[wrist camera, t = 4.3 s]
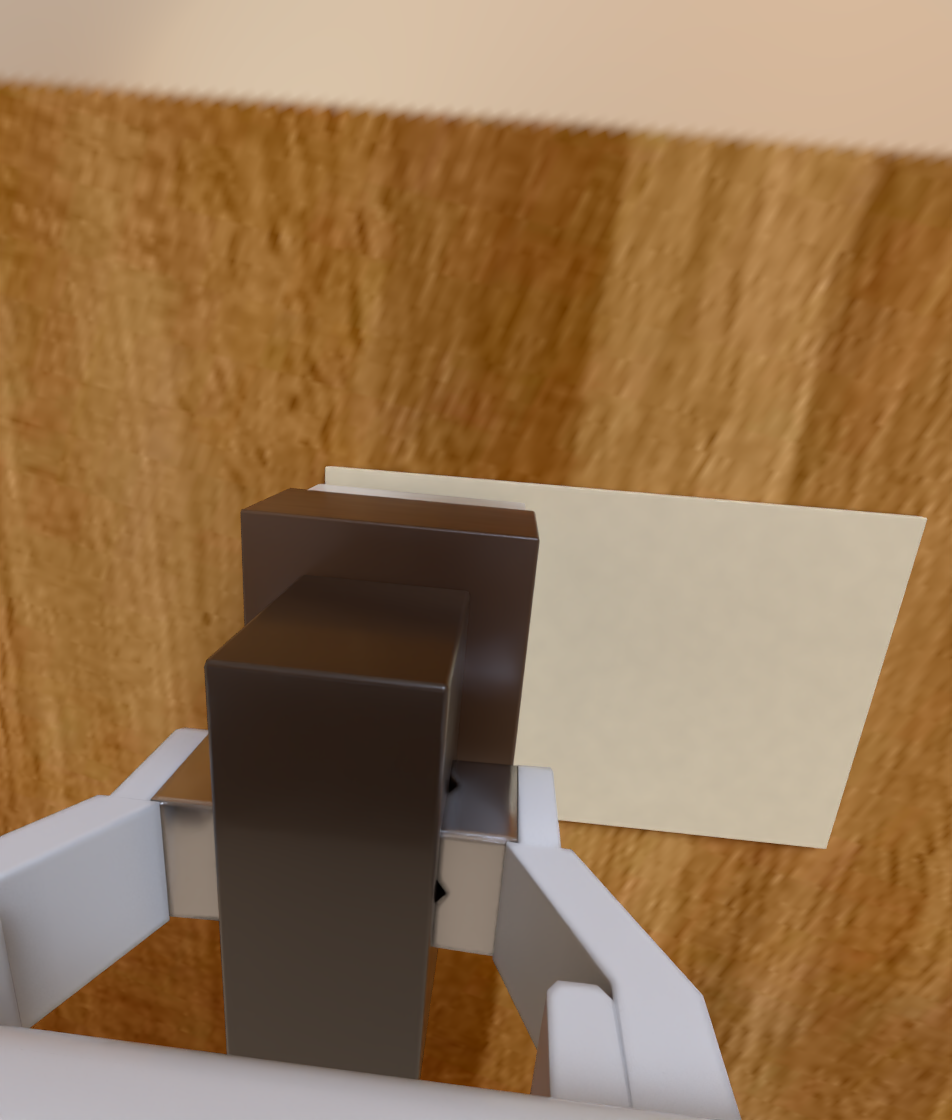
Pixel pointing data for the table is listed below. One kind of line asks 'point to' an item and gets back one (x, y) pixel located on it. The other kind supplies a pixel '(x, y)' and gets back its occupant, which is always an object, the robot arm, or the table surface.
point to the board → (696, 652)
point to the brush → (354, 756)
